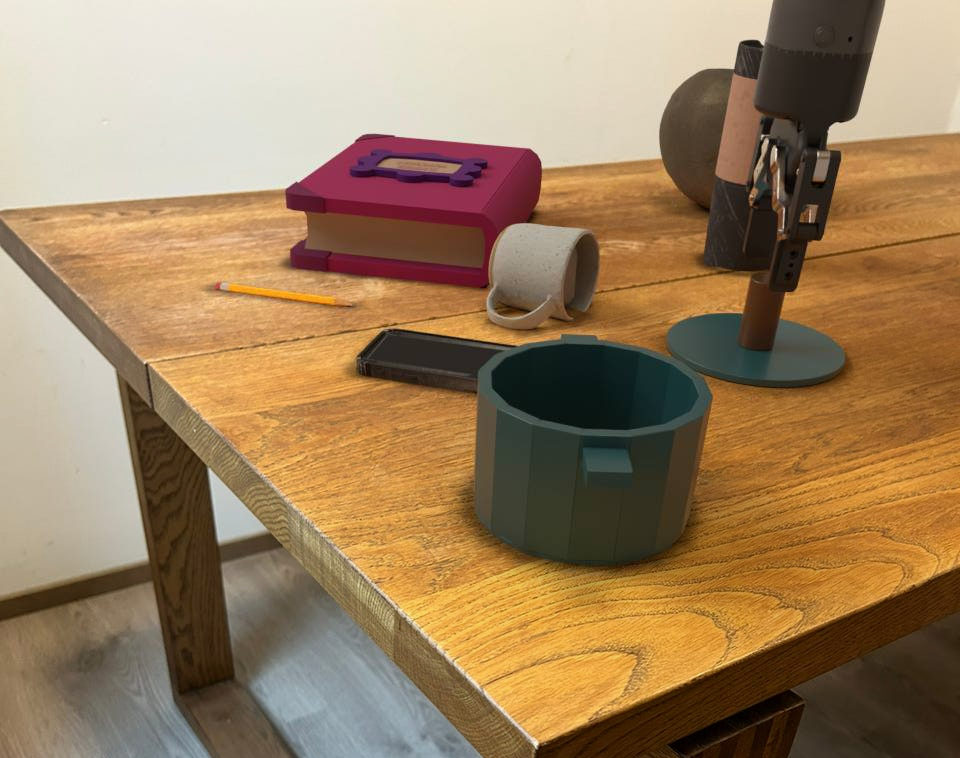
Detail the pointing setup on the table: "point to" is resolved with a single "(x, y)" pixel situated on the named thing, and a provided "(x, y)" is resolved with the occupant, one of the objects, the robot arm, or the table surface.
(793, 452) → the table surface
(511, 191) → the book
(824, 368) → the lid
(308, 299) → the pencil
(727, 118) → the travel mug
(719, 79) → the brown textured sphere
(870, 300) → the table surface
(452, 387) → the phone
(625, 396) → the pot
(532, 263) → the ceramic mug
